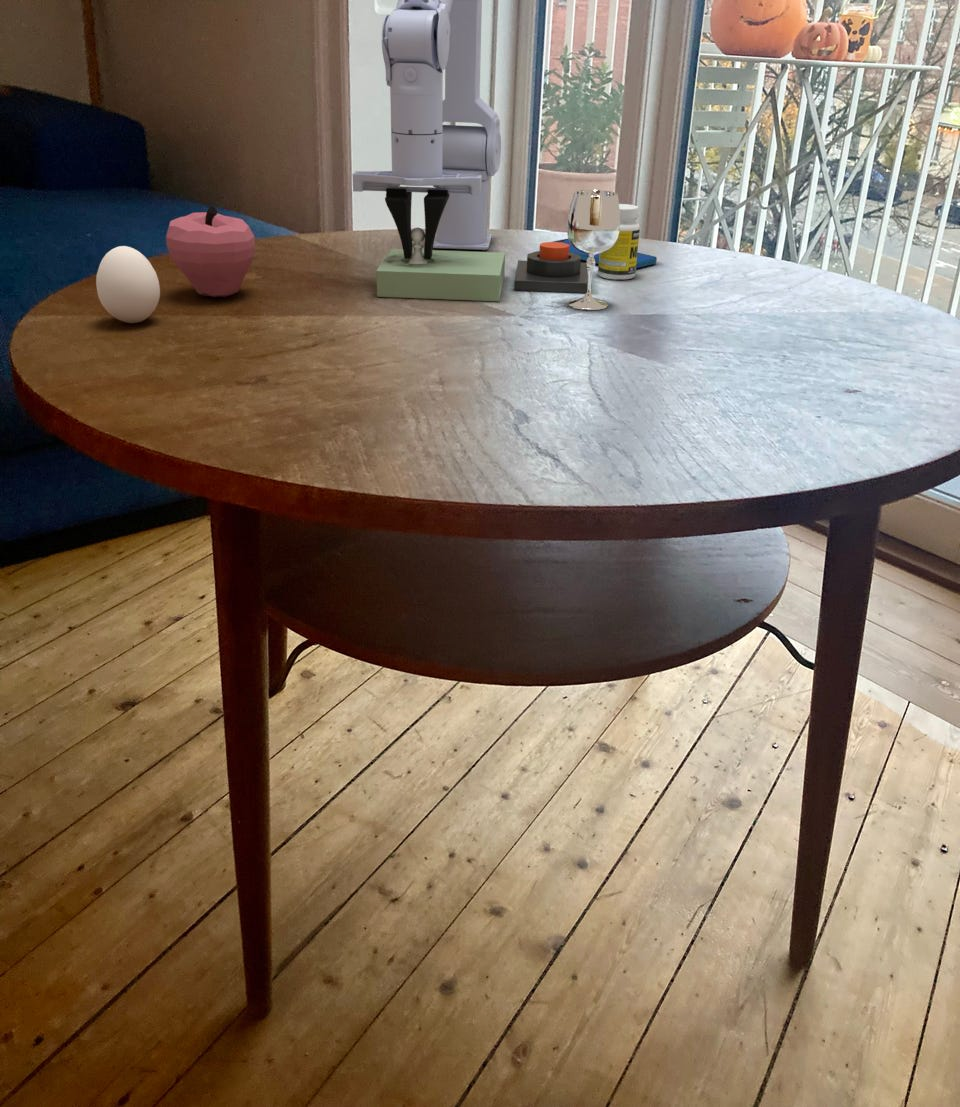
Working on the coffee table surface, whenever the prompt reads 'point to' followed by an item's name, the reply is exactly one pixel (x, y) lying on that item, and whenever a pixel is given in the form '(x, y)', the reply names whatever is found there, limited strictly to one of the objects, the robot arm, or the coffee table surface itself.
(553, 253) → the button
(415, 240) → the chess pawn
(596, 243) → the wineglass
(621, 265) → the supplement bottle
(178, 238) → the apple
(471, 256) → the pod holder
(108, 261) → the egg
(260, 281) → the coffee table surface
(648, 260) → the smartphone
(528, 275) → the panel
